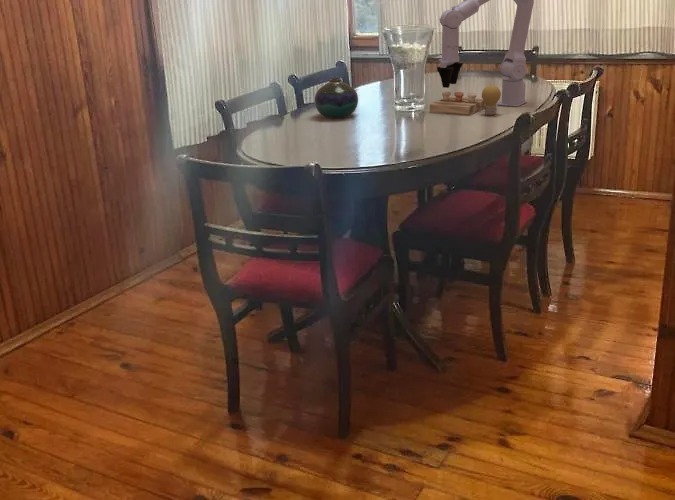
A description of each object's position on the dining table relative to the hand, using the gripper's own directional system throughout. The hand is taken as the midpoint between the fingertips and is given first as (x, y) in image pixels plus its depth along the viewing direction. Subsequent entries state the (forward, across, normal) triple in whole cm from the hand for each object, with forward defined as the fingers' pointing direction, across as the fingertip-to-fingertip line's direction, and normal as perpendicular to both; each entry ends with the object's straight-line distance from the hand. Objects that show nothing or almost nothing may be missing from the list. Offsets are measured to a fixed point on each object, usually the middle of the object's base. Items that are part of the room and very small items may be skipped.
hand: (449, 85), depth 262 cm
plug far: (+5, -1, -2) cm, 6 cm away
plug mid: (+5, -1, +3) cm, 6 cm away
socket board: (+9, -1, +3) cm, 9 cm away
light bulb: (+9, +4, +16) cm, 19 cm away
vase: (+9, +22, -34) cm, 42 cm away
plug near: (+5, 0, +8) cm, 10 cm away
